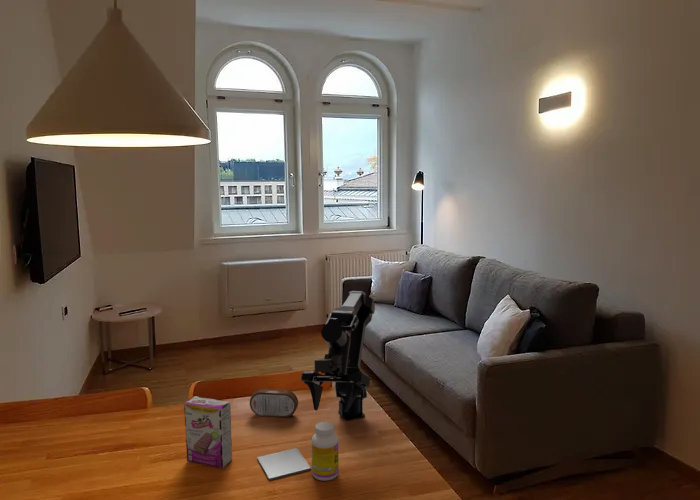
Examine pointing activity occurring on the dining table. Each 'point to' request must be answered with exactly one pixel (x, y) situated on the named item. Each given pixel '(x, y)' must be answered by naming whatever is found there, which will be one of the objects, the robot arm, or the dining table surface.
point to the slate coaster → (283, 463)
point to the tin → (273, 402)
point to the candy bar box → (208, 431)
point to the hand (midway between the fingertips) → (330, 410)
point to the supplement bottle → (325, 452)
